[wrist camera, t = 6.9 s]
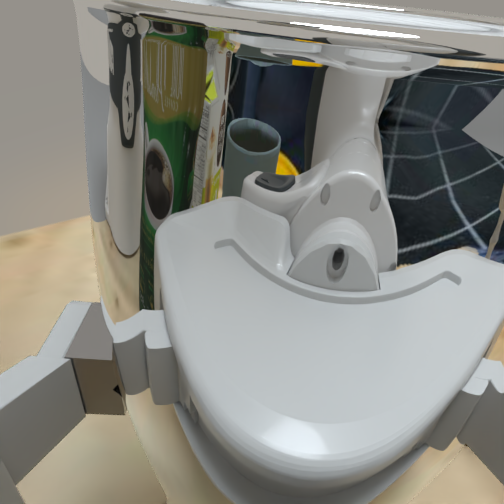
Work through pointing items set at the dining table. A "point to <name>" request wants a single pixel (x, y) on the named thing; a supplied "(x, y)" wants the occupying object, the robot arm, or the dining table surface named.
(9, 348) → the dining table surface
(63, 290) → the dining table surface
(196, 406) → the beer glass
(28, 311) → the dining table surface
